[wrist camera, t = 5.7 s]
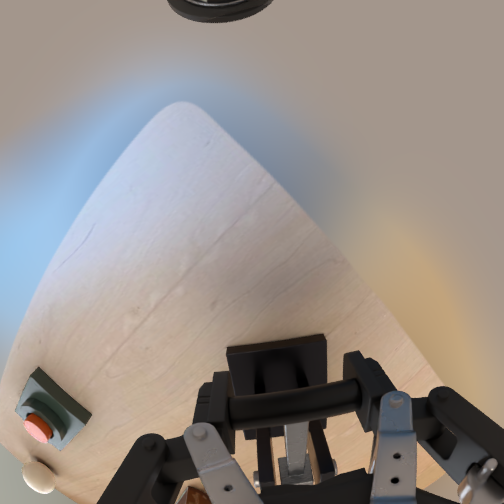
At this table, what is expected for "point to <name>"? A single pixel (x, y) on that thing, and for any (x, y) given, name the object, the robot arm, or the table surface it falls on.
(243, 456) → the table surface
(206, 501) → the food container
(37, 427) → the button
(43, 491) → the cream ball
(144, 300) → the table surface
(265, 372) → the bracket
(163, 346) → the table surface
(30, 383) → the button box
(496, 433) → the robot arm
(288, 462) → the lever
